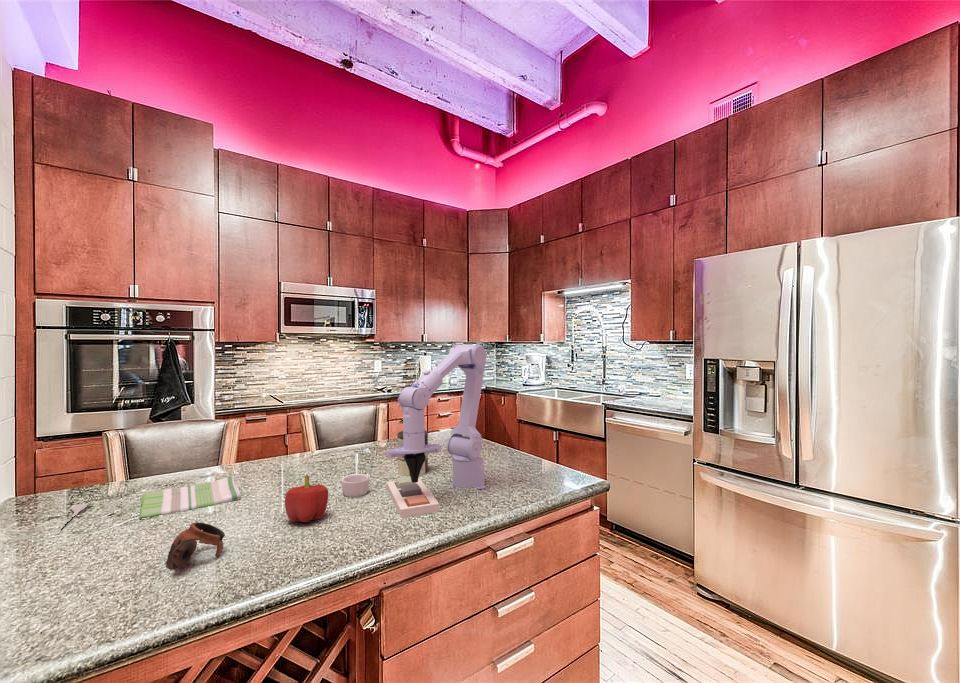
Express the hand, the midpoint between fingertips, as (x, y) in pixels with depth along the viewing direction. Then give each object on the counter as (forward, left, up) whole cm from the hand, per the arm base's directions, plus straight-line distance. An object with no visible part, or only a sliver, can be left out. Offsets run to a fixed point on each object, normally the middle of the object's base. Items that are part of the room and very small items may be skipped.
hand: (414, 481), depth 116 cm
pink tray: (0, -4, -7) cm, 8 cm away
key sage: (0, -11, -6) cm, 13 cm away
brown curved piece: (+49, +9, -8) cm, 51 cm away
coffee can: (-6, -28, -8) cm, 30 cm away
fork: (+84, -27, -8) cm, 88 cm away
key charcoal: (0, -4, -6) cm, 8 cm away
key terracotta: (0, +3, -7) cm, 8 cm away
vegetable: (+27, -4, -8) cm, 28 cm away
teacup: (+14, -16, -8) cm, 23 cm away
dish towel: (+58, -30, -8) cm, 66 cm away
